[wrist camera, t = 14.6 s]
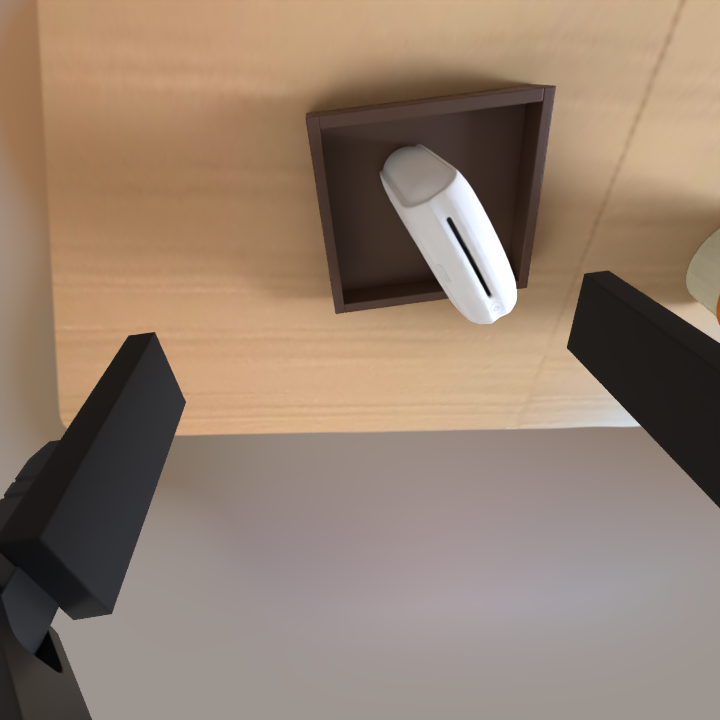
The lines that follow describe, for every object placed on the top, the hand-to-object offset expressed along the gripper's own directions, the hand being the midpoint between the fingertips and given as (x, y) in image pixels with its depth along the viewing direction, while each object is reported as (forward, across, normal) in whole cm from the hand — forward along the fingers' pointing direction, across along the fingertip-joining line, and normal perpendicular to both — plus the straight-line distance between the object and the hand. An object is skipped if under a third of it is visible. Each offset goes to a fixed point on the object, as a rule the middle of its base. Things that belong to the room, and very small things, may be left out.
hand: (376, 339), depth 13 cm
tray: (+23, +7, -3) cm, 24 cm away
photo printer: (+23, +7, -3) cm, 24 cm away
